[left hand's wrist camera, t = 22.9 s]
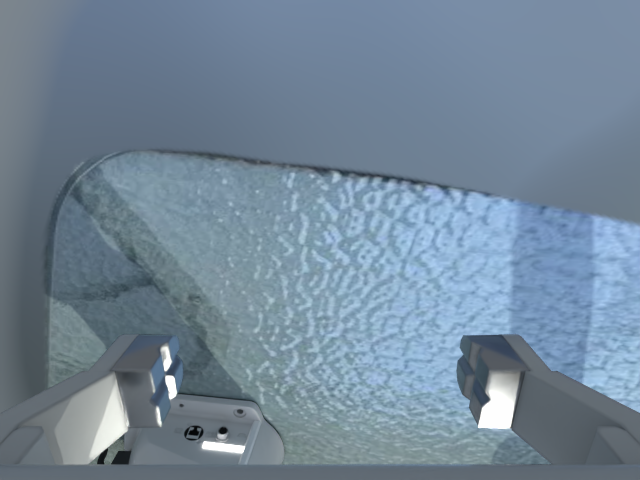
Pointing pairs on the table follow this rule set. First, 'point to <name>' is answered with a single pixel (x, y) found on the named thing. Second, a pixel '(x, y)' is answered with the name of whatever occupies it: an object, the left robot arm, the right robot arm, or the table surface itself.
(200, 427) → the left robot arm
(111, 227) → the table surface
